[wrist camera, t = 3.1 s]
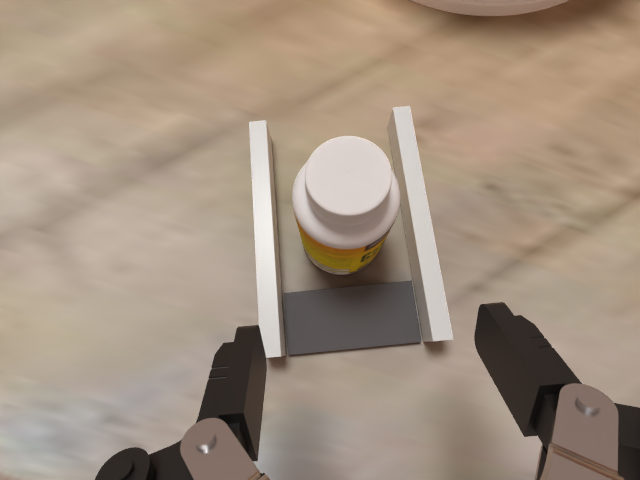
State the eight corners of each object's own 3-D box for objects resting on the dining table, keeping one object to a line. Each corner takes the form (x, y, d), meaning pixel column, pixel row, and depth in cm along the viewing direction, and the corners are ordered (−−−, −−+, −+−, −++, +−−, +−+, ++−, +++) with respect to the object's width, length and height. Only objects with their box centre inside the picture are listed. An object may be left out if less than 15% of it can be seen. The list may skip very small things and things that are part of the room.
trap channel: (441, 339, 24) (453, 339, 22) (267, 357, 24) (260, 358, 22) (403, 125, 29) (409, 105, 26) (256, 140, 29) (249, 121, 26)
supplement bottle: (361, 289, 25) (381, 255, 16) (289, 256, 26) (263, 202, 16) (393, 219, 27) (429, 146, 17) (323, 189, 27) (318, 102, 18)
